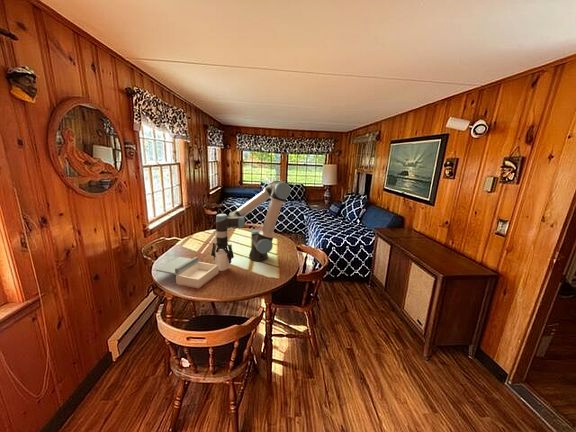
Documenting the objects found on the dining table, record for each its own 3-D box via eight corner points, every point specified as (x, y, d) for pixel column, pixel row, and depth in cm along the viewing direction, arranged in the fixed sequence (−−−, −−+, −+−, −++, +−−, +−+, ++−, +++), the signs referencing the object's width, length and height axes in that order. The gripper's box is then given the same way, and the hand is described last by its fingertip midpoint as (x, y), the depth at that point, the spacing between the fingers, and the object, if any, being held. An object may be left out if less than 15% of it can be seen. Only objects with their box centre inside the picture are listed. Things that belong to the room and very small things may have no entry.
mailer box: (218, 273, 165) (218, 265, 163) (198, 288, 144) (198, 279, 143) (198, 269, 169) (198, 261, 168) (176, 284, 148) (175, 275, 147)
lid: (199, 261, 167) (199, 256, 166) (176, 275, 147) (176, 269, 146) (179, 258, 171) (179, 253, 171) (155, 270, 151) (155, 265, 150)
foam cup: (213, 270, 169) (212, 252, 166) (221, 265, 177) (220, 248, 174) (224, 272, 166) (224, 255, 163) (232, 267, 174) (231, 250, 171)
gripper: (238, 236, 167) (239, 266, 172) (211, 232, 173) (212, 261, 177) (233, 239, 160) (234, 270, 165) (204, 235, 165) (206, 265, 170)
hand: (222, 266), depth 171 cm, fingers closed on foam cup, 9 cm apart
